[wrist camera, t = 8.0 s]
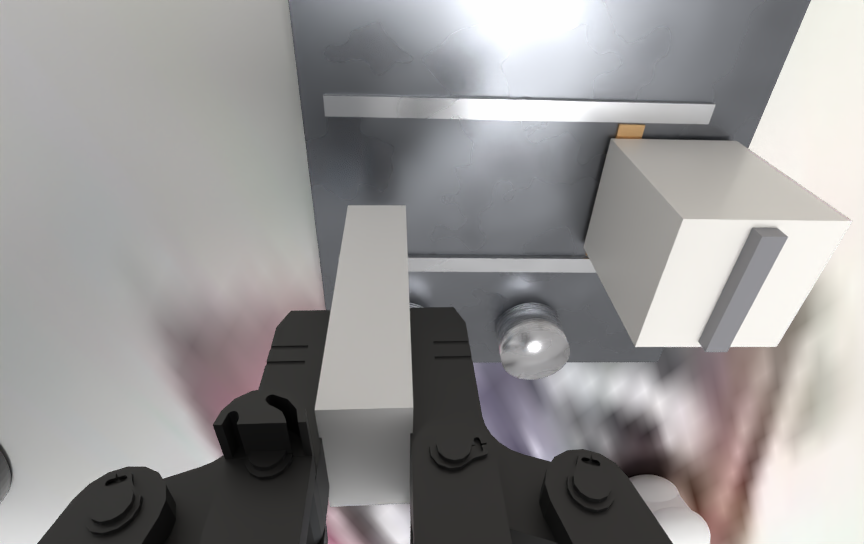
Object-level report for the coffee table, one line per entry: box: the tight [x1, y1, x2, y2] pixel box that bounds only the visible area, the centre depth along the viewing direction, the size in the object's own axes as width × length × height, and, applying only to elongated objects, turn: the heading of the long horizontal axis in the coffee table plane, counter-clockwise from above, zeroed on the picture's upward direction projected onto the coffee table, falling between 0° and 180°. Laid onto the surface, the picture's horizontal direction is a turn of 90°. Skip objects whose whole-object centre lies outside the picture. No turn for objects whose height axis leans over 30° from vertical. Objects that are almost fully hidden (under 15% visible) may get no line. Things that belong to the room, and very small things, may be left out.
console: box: [288, 0, 811, 380], centre depth 17 cm, size 14×16×4 cm
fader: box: [583, 138, 852, 352], centre depth 14 cm, size 4×4×5 cm
